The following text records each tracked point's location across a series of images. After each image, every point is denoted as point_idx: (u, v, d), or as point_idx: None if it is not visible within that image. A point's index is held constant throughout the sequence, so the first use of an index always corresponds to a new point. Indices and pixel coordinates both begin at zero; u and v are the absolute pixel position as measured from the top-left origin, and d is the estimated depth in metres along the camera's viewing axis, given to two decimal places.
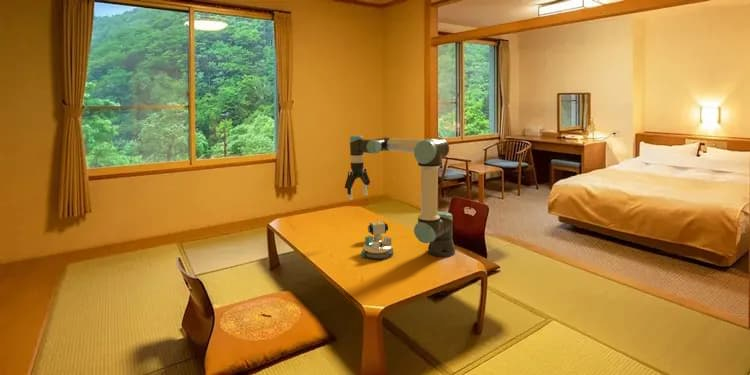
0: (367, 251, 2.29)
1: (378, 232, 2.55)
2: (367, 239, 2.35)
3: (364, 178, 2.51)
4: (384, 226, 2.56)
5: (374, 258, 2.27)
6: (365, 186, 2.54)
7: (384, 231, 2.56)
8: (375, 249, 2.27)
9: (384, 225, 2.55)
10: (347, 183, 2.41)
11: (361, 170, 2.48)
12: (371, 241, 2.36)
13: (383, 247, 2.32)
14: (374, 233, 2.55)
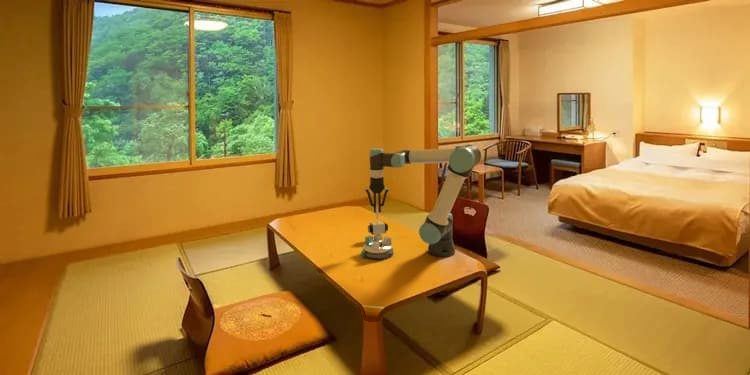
0: (367, 251, 2.29)
1: (378, 232, 2.55)
2: (367, 239, 2.35)
3: (379, 198, 2.33)
4: (384, 226, 2.56)
5: (374, 258, 2.27)
6: None
7: (384, 231, 2.56)
8: (375, 249, 2.27)
9: (384, 225, 2.55)
10: None
11: (382, 186, 2.32)
12: (371, 241, 2.36)
13: (383, 247, 2.32)
14: (374, 233, 2.55)
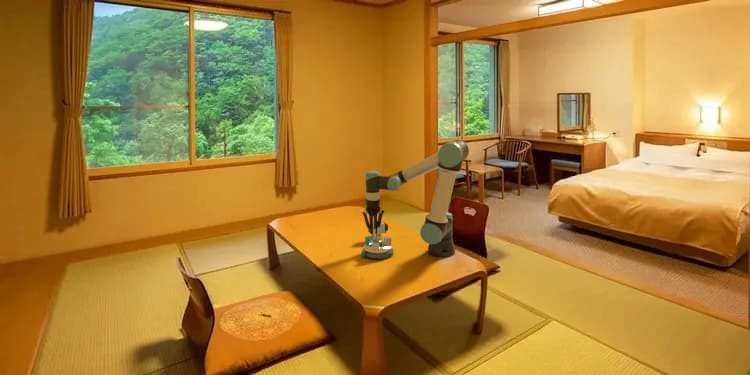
0: (367, 251, 2.29)
1: (378, 232, 2.55)
2: (367, 239, 2.35)
3: (376, 219, 2.36)
4: (384, 226, 2.56)
5: (374, 258, 2.27)
6: None
7: (384, 231, 2.56)
8: (375, 249, 2.27)
9: (384, 225, 2.55)
10: (366, 223, 2.35)
11: (378, 207, 2.35)
12: (371, 241, 2.36)
13: (383, 247, 2.32)
14: None
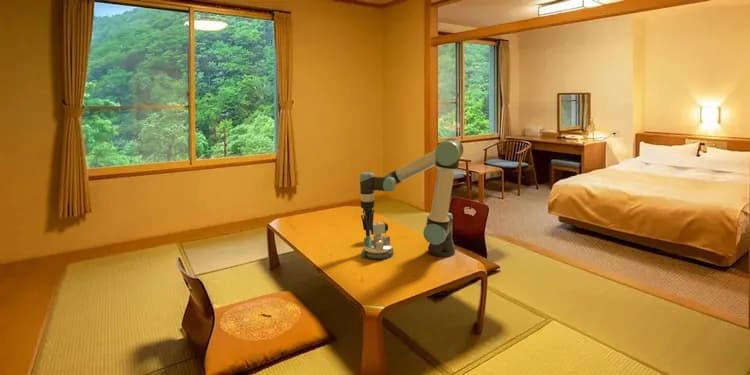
0: (371, 252, 2.27)
1: (378, 232, 2.55)
2: (366, 240, 2.34)
3: (371, 220, 2.35)
4: (384, 226, 2.56)
5: (374, 258, 2.27)
6: None
7: (384, 231, 2.56)
8: (379, 249, 2.27)
9: (384, 225, 2.55)
10: (365, 226, 2.31)
11: (371, 207, 2.35)
12: (370, 242, 2.35)
13: (384, 246, 2.33)
14: (374, 233, 2.55)
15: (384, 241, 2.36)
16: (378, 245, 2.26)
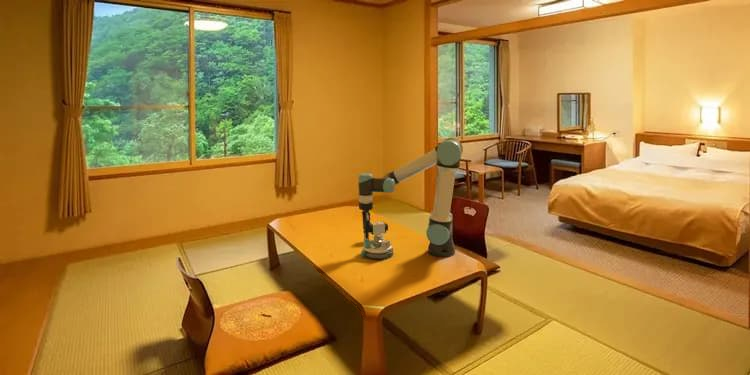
0: (379, 252, 2.26)
1: (378, 232, 2.55)
2: (368, 242, 2.30)
3: None
4: (384, 226, 2.56)
5: (374, 258, 2.27)
6: None
7: (384, 231, 2.56)
8: (387, 248, 2.28)
9: (384, 225, 2.55)
10: (368, 228, 2.27)
11: None
12: None
13: None
14: (374, 233, 2.55)
15: (380, 240, 2.38)
16: (386, 244, 2.28)
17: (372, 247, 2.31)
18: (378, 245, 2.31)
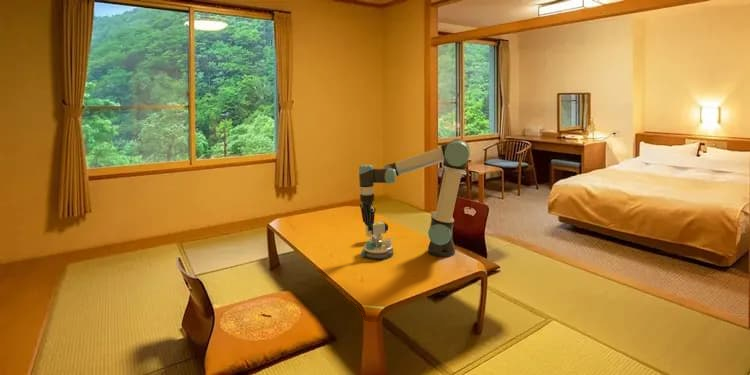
0: (387, 251, 2.28)
1: (378, 232, 2.55)
2: (373, 244, 2.28)
3: None
4: (384, 226, 2.56)
5: (374, 258, 2.27)
6: None
7: (384, 231, 2.56)
8: (391, 245, 2.32)
9: (384, 225, 2.55)
10: (372, 220, 2.24)
11: None
12: None
13: (382, 243, 2.37)
14: (374, 233, 2.55)
15: None
16: (390, 241, 2.31)
17: (376, 248, 2.30)
18: (380, 245, 2.32)
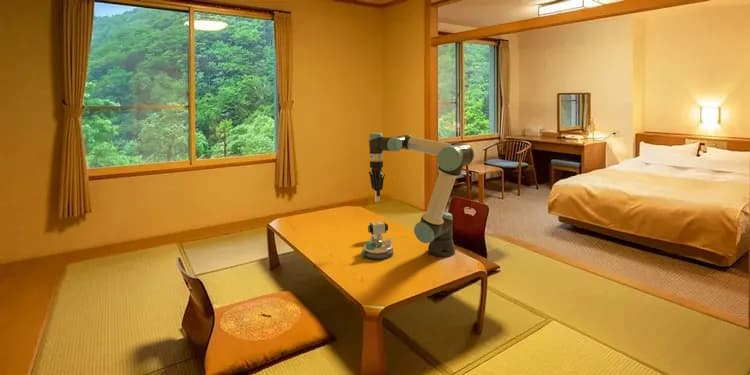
0: (387, 251, 2.28)
1: (378, 232, 2.55)
2: (373, 244, 2.28)
3: None
4: (384, 226, 2.56)
5: (374, 258, 2.27)
6: None
7: (384, 231, 2.56)
8: (391, 245, 2.32)
9: (384, 225, 2.55)
10: (381, 185, 2.37)
11: None
12: None
13: (382, 243, 2.37)
14: (374, 233, 2.55)
15: None
16: (390, 241, 2.31)
17: (376, 248, 2.30)
18: (380, 245, 2.32)
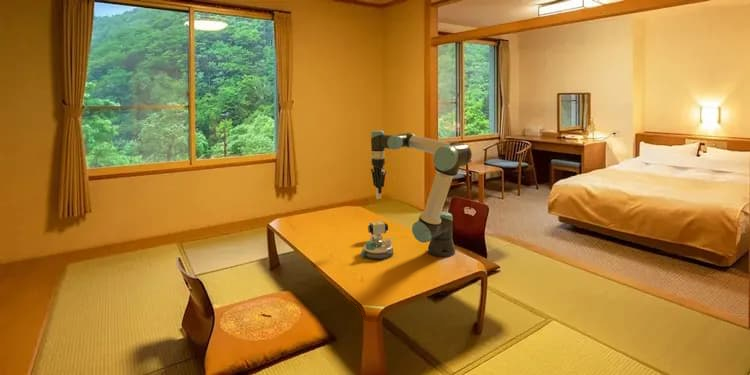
0: (387, 251, 2.28)
1: (378, 232, 2.55)
2: (373, 244, 2.28)
3: None
4: (384, 226, 2.56)
5: (374, 258, 2.27)
6: None
7: (384, 231, 2.56)
8: (391, 245, 2.32)
9: (384, 225, 2.55)
10: (382, 182, 2.40)
11: None
12: None
13: (382, 243, 2.37)
14: (374, 233, 2.55)
15: None
16: (390, 241, 2.31)
17: (376, 248, 2.30)
18: (380, 245, 2.32)
